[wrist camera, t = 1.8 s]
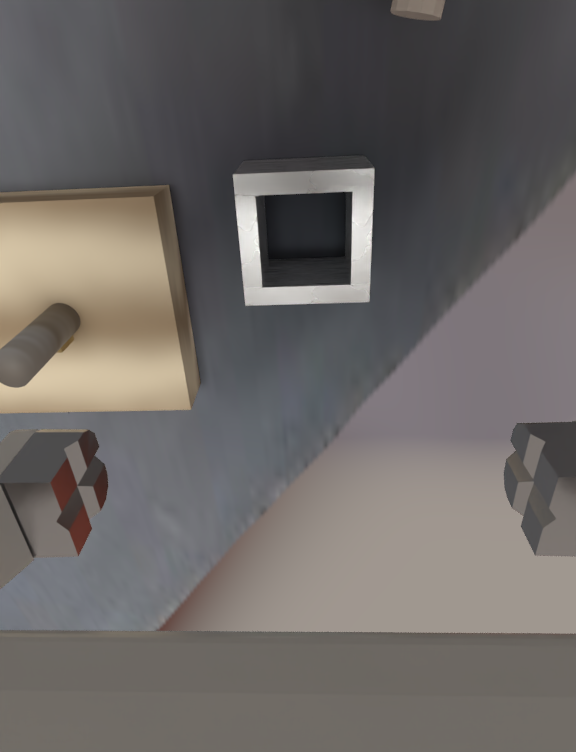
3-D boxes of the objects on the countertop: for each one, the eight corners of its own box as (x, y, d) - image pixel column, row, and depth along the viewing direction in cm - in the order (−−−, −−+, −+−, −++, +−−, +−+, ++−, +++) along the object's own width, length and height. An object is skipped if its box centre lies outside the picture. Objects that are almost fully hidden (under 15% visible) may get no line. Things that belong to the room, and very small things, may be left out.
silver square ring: (244, 160, 25) (232, 174, 21) (364, 155, 25) (374, 168, 21) (253, 275, 28) (245, 305, 24) (361, 271, 28) (369, 302, 24)
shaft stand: (-55, 194, 26) (-194, 237, 19) (168, 184, 26) (113, 225, 18) (18, 387, 32) (-66, 475, 25) (200, 383, 32) (168, 473, 24)
